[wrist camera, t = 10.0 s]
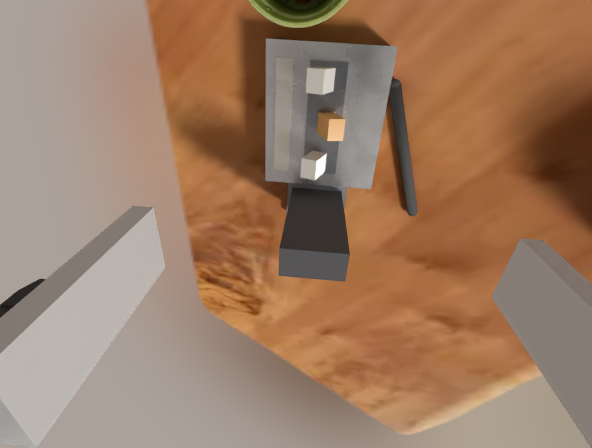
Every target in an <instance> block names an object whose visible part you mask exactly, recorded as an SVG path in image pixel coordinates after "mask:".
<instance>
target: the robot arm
mask: <svg viewBox="0 0 592 448" xmlns="http://www.w3.org/2000/svg"><path fill="white" fill-rule="evenodd" d="M164 268H165V263H164V258H163V254H162V248H161V243H160V238H159V234H158V229H157V224H156V218H155V213H154V209H153V208H152V207H140V206H132V207H131V208H130V209H129V210H128V211H126V212H125V213H124V214H123V215H122V216H120V217H119V218H118V219H117V220H116V221H115V222H113V223H112V224H111V225H110V226H109V227H108V228H106V229H105V230H104V231H103V232H101V234H99V235H98V236H97V237H96V238H94V239H93V240H92V241H91V242H90V243H88V244H87V245H86V246H85V247H84V248H83V249H81V250H80V251H79V252H78V253H77V254H76V255H74V256H73V257H72V258H71V259H70V260H68V261H67V262H66V263H65V264H64V265H62V266H61V267H60V268H59V269H58V270H56V271H55V272H54V273H53V274H52V275H51V276H49V277H48V278H47V279H39V280H37V281H35V282H33V283H31V284H30V285H28V286H26V287H24V288H22V289H20V290H18V291H17V292H16V293H14V294H13V295H12V296H11V297H9V298H8V299H7V300H6V301H5V302H3V303H2V304H1V305H0V440H1V441H2V442H3V444H7V445H16V446H23V447H32V448H37V446H38V445H39V444H40V442H41V441H42V439H43V438H44V437H45V435H46V434H47V432H48V431H49V430H50V428H51V427H52V425H53V424H54V423H55V421H56V420H57V418H58V417H59V415H60V414H61V413H62V411H63V410H64V409H65V407H66V406H67V404H68V403H69V401H70V400H71V399H72V397H73V396H74V394H75V393H76V392H77V390H78V389H79V388H80V386H81V385H82V383H83V382H84V381H85V379H86V378H87V376H88V375H89V374H90V372H91V371H92V369H93V368H94V366H95V365H96V364H97V362H98V361H99V359H100V358H101V357H102V355H103V354H104V353H105V351H106V350H107V348H108V347H109V346H110V344H111V343H112V341H113V340H114V338H115V337H116V336H117V334H118V333H119V331H120V330H121V329H122V327H123V326H124V324H125V323H126V322H127V320H128V319H129V317H130V316H131V315H132V313H133V312H134V310H135V309H136V308H137V306H138V305H139V303H140V302H141V300H142V299H143V298H144V296H145V295H146V294H147V292H148V291H149V289H150V288H151V286H152V285H153V284H154V282H155V281H156V280H157V278H158V277H159V275H160V274H161V273H162V271H163V269H164ZM492 299H493V300H494V302H495V303H496V305H497V306H498V308H499V309H500V311H501V312H502V314H503V315H504V317H505V319H506V320H507V322H508V323H509V325H510V326H511V328H512V329H513V331H514V332H515V334H516V335H517V337H518V338H519V340H520V341H521V343H522V344H523V346H524V347H525V349H526V350H527V352H528V353H529V355H530V356H531V358H532V359H533V361H534V362H535V364H536V365H537V367H538V368H539V370H540V371H541V373H542V374H543V376H544V377H545V379H546V380H547V382H548V383H549V385H550V386H551V388H552V389H553V391H554V392H555V394H556V395H557V397H558V398H559V400H560V402H561V403H562V405H563V406H564V407H565V409H566V410H567V412H568V413H569V415H570V417H571V418H572V420H573V421H574V423H575V424H576V426H577V427H578V429H579V430H580V431H581V433H582V435H583V436H584V438H585V439H586V440H587V442H588V444H589V445H590V447H591V448H592V284H591V283H590V282H589V281H588V280H587V279H586V278H585V277H583V276H582V275H581V274H580V273H579V272H578V271H577V270H576V269H574V268H573V267H572V266H571V265H570V264H569V263H568V262H567V261H566V260H564V259H563V258H562V257H561V256H560V255H559V254H558V253H557V252H555V251H554V250H553V249H552V248H551V247H550V246H549V245H548V244H547V243H545V242H544V241H543V240H533V239H521V238H520V240H519V242H518V244H517V246H516V248H515V250H514V253H513V255H512V257H511V259H510V261H509V263H508V265H507V267H506V269H505V271H504V273H503V275H502V277H501V279H500V281H499V283H498V285H497V287H496V289H495V291H494V293H493V295H492Z"/></svg>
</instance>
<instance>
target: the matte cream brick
mask: <svg viewBox="0 0 592 448" xmlns="http://www.w3.org/2000/svg"><path fill="white" fill-rule="evenodd" d="M326 157H327V153H323V152H318V151H311V152H310V153H308V154H307V155H306V156H304V157H303V158H302V159H301V174H300V177H301V178H306V179H311V180H316V179H317V178H318V177H319V176H320V175H321V174H323V173H324V172H325V166H326Z"/></svg>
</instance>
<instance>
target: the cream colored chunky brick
mask: <svg viewBox="0 0 592 448" xmlns="http://www.w3.org/2000/svg"><path fill="white" fill-rule="evenodd" d="M335 71H336V68H330V67H310V68H307V80H306V93H311V94H320V95H324V94H327V93H330V92H333V90H334V80H335Z"/></svg>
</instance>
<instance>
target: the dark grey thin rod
mask: <svg viewBox="0 0 592 448" xmlns="http://www.w3.org/2000/svg"><path fill="white" fill-rule="evenodd" d="M389 93H390V99H391V106H392V113H393V120H394V126H395V133H396V140H397V146H398V153H399V160H400V167H401V173H402V180H403V187H404V193H405V200H406V207H407V213H408V215H410V216H415V215H416V214H417V212H418V211H417V203H416V196H415V188H414V180H413V173H412V165H411V157H410V150H409V142H408V135H407V127H406V119H405V112H404V104H403V96H402V89H401V83H400V81H399V80H397V79H394V80H392V81H391V85H390V90H389Z"/></svg>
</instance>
